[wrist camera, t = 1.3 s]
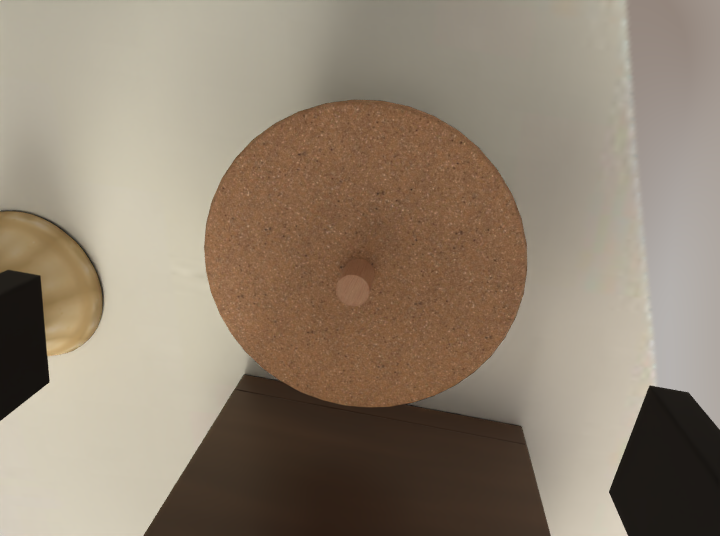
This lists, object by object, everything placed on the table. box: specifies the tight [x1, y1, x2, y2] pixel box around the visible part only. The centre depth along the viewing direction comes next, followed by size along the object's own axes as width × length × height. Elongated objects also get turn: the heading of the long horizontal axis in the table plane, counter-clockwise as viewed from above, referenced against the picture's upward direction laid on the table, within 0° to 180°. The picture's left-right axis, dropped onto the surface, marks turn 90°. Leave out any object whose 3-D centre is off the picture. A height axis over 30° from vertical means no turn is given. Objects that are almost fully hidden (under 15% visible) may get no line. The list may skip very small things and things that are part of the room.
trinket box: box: [204, 100, 527, 407], centre depth 20 cm, size 11×11×9 cm
